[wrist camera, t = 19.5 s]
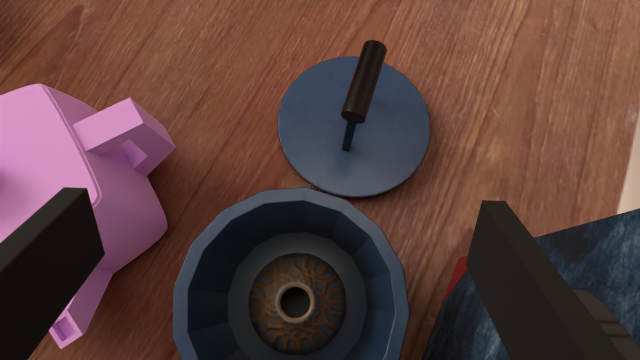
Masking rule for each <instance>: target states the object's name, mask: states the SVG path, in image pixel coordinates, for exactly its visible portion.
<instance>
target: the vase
mask: <svg viewBox="0 0 640 360" xmlns="http://www.w3.org/2000/svg"><path fill="white" fill-rule="evenodd" d="M346 306H347V300H346V292H345V288H344V285H343V283H342V280H341V278H340V277H339V275H338V274H337V272H336V271H335V270H334V268H333V267H332V266H331V265H329V264H328V263H327V262H326V261H324V260H323V259H321V258H319V257H317V256H314V255H311V254H307V253H289V254H285V255H282V256H279V257H277V258H275V259H274V260H272V261H271V262H269V263H268V264H267V265H266V266H264V267H263V269H262V270H261V271H260V272H259V273H258V275H257V276H256V278H255V280H254V282H253V284H252V287H251V290H250V294H249V301H248V309H249V316H250V320H251V323H252V325H253V327H254V329H255V331H256V333H257V334H258V336H259V337H260V338H261V339H262V340H263V341H264V342H265V343H266V344H267V345H268V346H270V347H271V348H273V349H274V350H276V351H278V352H281V353H284V354H289V355H305V354H309V353H312V352H315V351H317V350H319V349H321V348H323V347H324V346H326V345H327V344H328V343H329V342H330V341H331V340H332V339H333V338H334V337H335V336H336V334H337V333H338V331H339V330H340V328H341V326H342V324H343V321H344V318H345V314H346Z"/></svg>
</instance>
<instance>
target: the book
mask: <svg viewBox="0 0 640 360" xmlns="http://www.w3.org/2000/svg"><path fill="white" fill-rule="evenodd" d="M534 240H535V241H536V242H537V244H538V245H539V246H540V248H541V249H542V250H543V252H544V253H545V254H546V256H547V257H548V258H549V260H550V261H551V262H552V263H553V265H554V266H555V267H556V269H557V270H558V271H559V273H560V274H561V275H562V277H563V278H564V279H565V281H566V282H567V283H568V285H569V286H570V287H571V288H572V290H587V291H588V292H590V293H591V294H592V295H594V296H595V297H597V298H598V299H599V300H601V301H602V302H603V303H605V304H606V305H607V307H608V308H609V309H610V310H611V311H612V313H613V314H614V315H615V316H616V317H617V319H618V320H619V323H620V324H622V325H623V326H624V327H625V328H626V330H627V331H628V332H629V333H630V334H631V338H634V339H635V341H636V342H637V343H638V344H639V345H640V209H636V210H633V211H629V212H626V213H622V214H618V215H615V216H611V217H607V218H604V219H600V220H597V221H593V222H589V223H586V224H582V225H579V226H575V227H572V228H568V229H564V230H561V231H557V232H554V233H550V234H546V235H543V236H539V237H536V238H534ZM467 257H468V256H466V257H462V258H460V259H459V260H458V263H457V265H456V267H455V270H454V273H453V275H452V278H451V281H450V283H449V286H448V289H447V291H446V294H445V297H444V299H443V302H442V306H441V309H440V311H439V314H438V317H437V319H436V322H435V325H434V327H433V330H432V333H431V335H430V338H429V341H428V343H427V346H426V349H425V351H424V354H423V357H422V359H421V360H510V358H509V356H508V354H507V352H506V350H505V348H504V345H503V343H502V341H501V339H500V337H499V335H498V333H497V331H496V328H495V326H494V324H493V322H492V320H491V318H490V316H489V314H488V311H487V309H486V307H485V305H484V303H483V301H482V299H481V297H480V294H479V292H478V290H477V288H476V286H475V284H474V282H473V280H472V277H471V275H470V273H469V271H468V269H467V267H466V261H467Z"/></svg>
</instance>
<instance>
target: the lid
mask: <svg viewBox="0 0 640 360" xmlns="http://www.w3.org/2000/svg"><path fill="white" fill-rule="evenodd" d="M386 52H387V48H386V46H385V45H384V44H383V43H381V42H379V41H375V40H369V41H366V42H365V43H364V45H363V48H362V51H361V54H360V57H339V58H334V59H330V60H326V61H324V62H321V63H319V64H317V65H315V66H313V67H311V68H309V69H308V70H307V71H305V72H304V73H302V74H301V75H300V76H299V77H298V78H297V79H296V80H295V81H294V82H293V84H292V85H291V86H290V88H289V89H288V91H287V92H286V94H285V96H284V98H283V100H282V103H281V106H280V110H279V116H278V133H279V139H280V143H281V146H282V149H283V152H284V154H285V156H286V158H287V160H288V161H289V163H290V165H291V166H292V167H293V169H294V170H295V171H296V172H297V173H298V174H299V175H300V176H301V177H302V178H303V179H304V180H305V181H307V182H308V183H309V184H311V185H312V186H314V187H316V188H318V189H320V190H321V191H324V192H326V193H329V194H332V195H336V196H340V197H347V198H365V197H372V196H376V195H380V194H383V193H385V192H388V191H390V190H392V189H394V188H395V187H397V186H399V185H400V184H402V183H403V182H404V181H405V180H407V179H408V178H409V177H410V176H411V175H412V173H413V172H414V171H415V170H416V169H417V167H418V166H419V164H420V163H421V161H422V159H423V157H424V155H425V153H426V150H427V147H428V143H429V138H430V121H429V115H428V111H427V108H426V105H425V103H424V100H423V98H422V97H421V95H420V93H419V91H418V90H417V89H416V87H415V86H414V85H413V84H412V83H411V82H410V81H409V79H408V78H406V77H405V76H404V75H403V74H402V73H400V72H399V71H397V70H396V69H394V68H393V67H391V66H389V65H387V64H385V63H383V62H384V59H385V55H386Z"/></svg>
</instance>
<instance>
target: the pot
mask: <svg viewBox="0 0 640 360" xmlns="http://www.w3.org/2000/svg"><path fill="white" fill-rule="evenodd" d="M289 253H307V254H311V255H314V256H317V257H319V258H321V259H323V260H324V261H326V262H327V263H328V264H329V265H331V266H332V267H333V268H334V270H335V271H336V272H337V274H338V275H339V277H340V278H341V280H342V283H343V285H344V288H345V292H346V300H347V306H346V314H345V318H344V321H343V324H342V326H341V328H340V330H339V331H338V333H337V334H336V336H335V337H334V338H333V339H332V340H331V341H330V342H329V343H328V344H327V345H326V346H324V347H323V348H321V349H319V350H317V351H315V352H312V353H309V354H305V355H289V354H284V353H281V352H278V351H276V350H274V349H273V348H271V347H270V346H268V345H267V344H266V343H265V342H264V341H263V340H262V339H261V338H260V337H259V336H258V334H257V333H256V331H255V329H254V327H253V325H252V323H251V320H250V316H249V309H248V301H249V294H250V290H251V287H252V284H253V282H254V280H255V278H256V276H257V275H258V273H259V272H260V271H261V270H262V269H263V267H264V266H266V265H267V264H268V263H269V262H271V261H272V260H274V259H275V258H277V257H279V256H282V255H285V254H289ZM409 314H410V311H409V304H408V297H407V290H406V283H405V276H404V269H403V266H402V264H401V262H400V261H399V259H398V257H397V255H396V254H395V252H394V250H393V248H392V247H391V245H390V243H389V241H388V239H387V238H386V236H385V234H384V232H383V231H382V229H381V228H380V227H379V226H378V225H377V224H376V223H374V222H373V221H372V220H371V219H370V218H368V217H367V216H366V215H365V214H363V213H362V212H361V211H360V210H358V209H357V208H356V207H355V206H354V205H352V204H351V203H350V202H349V201H347V200H345V199H342V198H339V197H336V196H332V195H329V194H326V193H323V192H319V191H316V190H313V189H310V188H305V187H303V188H290V189H277V190H264V191H261V192H259V193H257V194H255V195H253V196H251V197H249V198H247V199H245V200H243V201H241V202H238V203H236V204H234V205H232V206H230V207H228V208H226V209H224V210H222V211H221V212H220V214H219V215H218V216H217V217H216V218H215V219H214V220H213V221H212V222H211V223H210V224H209V225H208V226H207V227H206V228H205V230H204V231H203V232H202V233H201V234H200V235H199V236H198V237H197V238H196V239H195V240H194V241H193V242H192V244H191V246H190V248H189V251H188V253H187V256H186V258H185V261H184V263H183V265H182V268H181V270H180V273H179V275H178V278H177V280H176V283H175V285H174V289H173V337H174V341H175V344H176V346H177V349H178V351H179V354H180V356H181V359H182V360H399V359H400V355H401V351H402V347H403V342H404V338H405V334H406V330H407V326H408V321H409V317H410V316H409Z"/></svg>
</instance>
